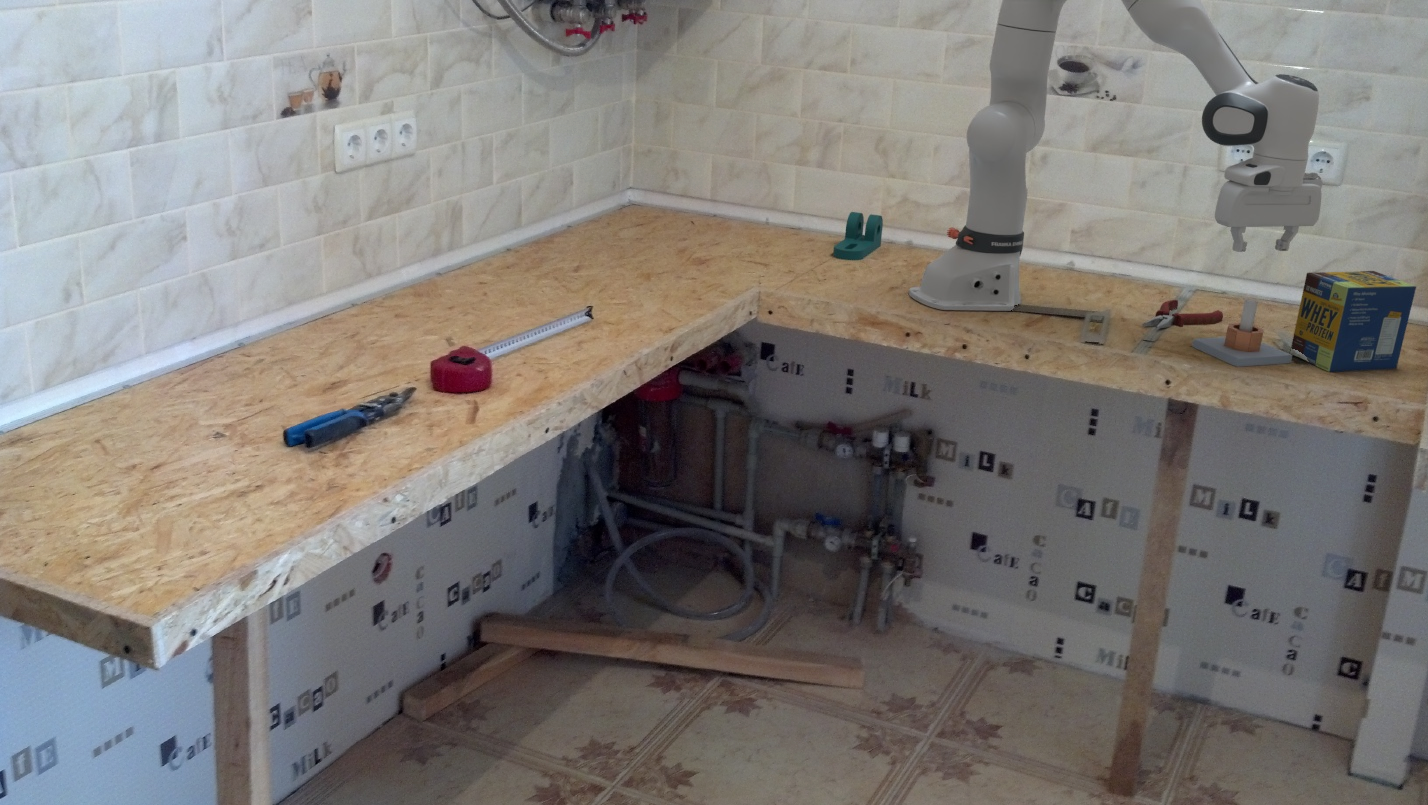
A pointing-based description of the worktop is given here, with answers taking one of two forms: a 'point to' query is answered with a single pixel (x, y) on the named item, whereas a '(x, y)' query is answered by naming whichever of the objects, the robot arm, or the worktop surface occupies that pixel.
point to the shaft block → (1242, 358)
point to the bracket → (859, 237)
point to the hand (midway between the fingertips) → (1260, 250)
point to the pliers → (1181, 317)
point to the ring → (1243, 338)
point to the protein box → (1352, 320)
